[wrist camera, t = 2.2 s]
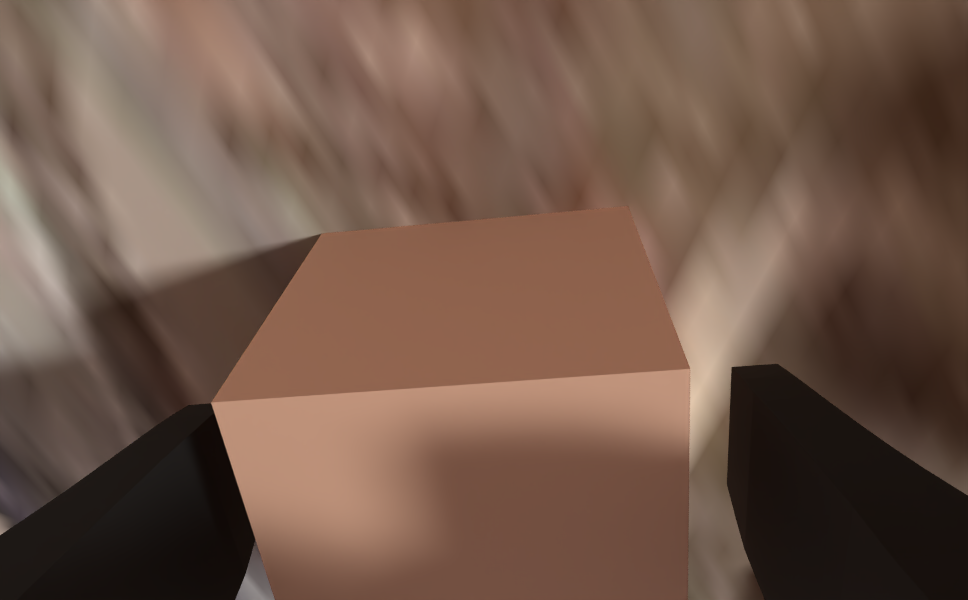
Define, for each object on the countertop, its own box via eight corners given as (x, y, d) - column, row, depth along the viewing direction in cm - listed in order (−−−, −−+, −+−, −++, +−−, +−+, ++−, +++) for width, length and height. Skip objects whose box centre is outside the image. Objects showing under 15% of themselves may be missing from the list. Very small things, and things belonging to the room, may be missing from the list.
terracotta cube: (634, 455, 14) (686, 698, 10) (375, 470, 15) (311, 710, 10) (627, 204, 12) (690, 368, 8) (323, 231, 12) (211, 402, 8)
